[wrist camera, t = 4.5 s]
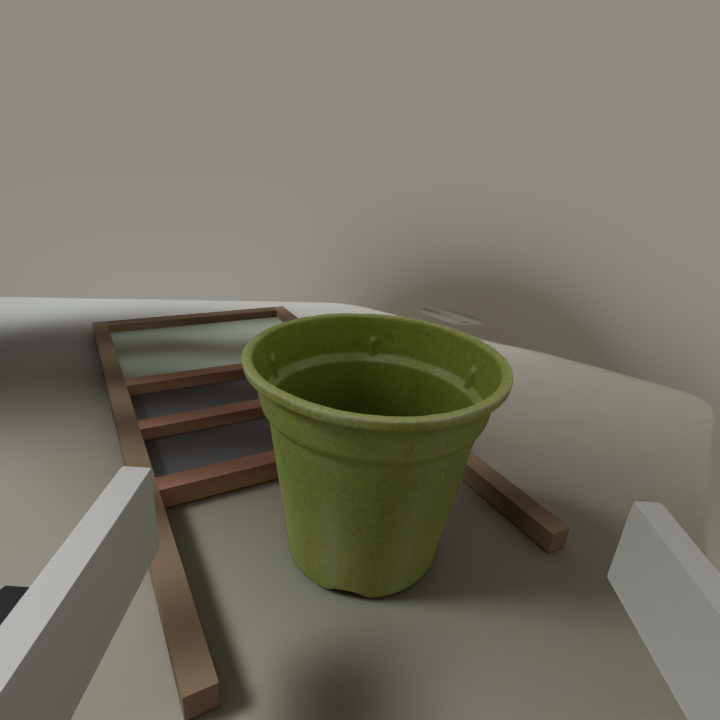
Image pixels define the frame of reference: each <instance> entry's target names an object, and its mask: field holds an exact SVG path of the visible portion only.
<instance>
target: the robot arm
mask: <svg viewBox="0 0 720 720" xmlns="http://www.w3.org/2000/svg"><path fill="white" fill-rule="evenodd" d="M158 549H159V539H158V530H157V520H156V510H155V501H154V491H153V481H152V472H151V468H145V467H130V466H122V467H121V468H120V470H119V471H118V472H117V474H116V475H115V476H114V478H113V479H112V480H111V481H110V483H109V484H108V485H107V487H106V488H105V489H104V491H103V492H102V493H101V495H100V496H99V497H98V498H97V500H96V501H95V502H94V504H93V505H92V506H91V508H90V509H89V510H88V512H87V513H86V514H85V515H84V517H83V518H82V519H81V521H80V522H79V523H78V525H77V526H76V527H75V529H74V530H73V531H72V532H71V534H70V535H69V536H68V538H67V539H66V540H65V542H64V543H63V544H62V546H61V547H60V548H59V549H58V551H57V552H56V553H55V555H54V556H53V557H52V559H51V560H50V561H49V563H48V564H47V565H46V566H45V568H44V569H43V570H42V572H41V573H40V574H39V576H38V577H37V578H36V579H35V581H34V582H33V583H32V585H31V586H30V587H17V586H5V587H3V588H2V589H1V590H0V720H70V719H71V717H72V716H73V714H74V712H75V710H76V708H77V706H78V704H79V702H80V700H81V698H82V696H83V694H84V692H85V690H86V688H87V687H88V685H89V683H90V681H91V679H92V677H93V675H94V673H95V671H96V669H97V667H98V665H99V663H100V661H101V659H102V657H103V656H104V654H105V652H106V650H107V648H108V646H109V644H110V642H111V640H112V638H113V636H114V634H115V632H116V630H117V628H118V627H119V625H120V623H121V621H122V619H123V617H124V615H125V613H126V611H127V609H128V607H129V605H130V603H131V601H132V599H133V597H134V596H135V594H136V592H137V590H138V588H139V586H140V584H141V582H142V580H143V578H144V576H145V574H146V572H147V570H148V568H149V567H150V565H151V563H152V561H153V559H154V557H155V555H156V553H157V551H158ZM607 578H608V580H609V581H610V583H611V585H612V587H613V588H614V590H615V592H616V594H617V596H618V597H619V599H620V601H621V603H622V604H623V606H624V608H625V610H626V612H627V613H628V615H629V617H630V619H631V620H632V622H633V624H634V626H635V628H636V629H637V631H638V633H639V635H640V636H641V638H642V640H643V642H644V643H645V645H646V647H647V649H648V651H649V652H650V654H651V656H652V658H653V659H654V661H655V663H656V665H657V667H658V668H659V670H660V672H661V674H662V675H663V677H664V679H665V681H666V683H667V684H668V686H669V688H670V690H671V691H672V693H673V695H674V697H675V699H676V700H677V702H678V704H679V706H680V707H681V709H682V711H683V713H684V715H685V716H686V718H687V720H720V573H719V571H718V570H717V569H716V568H715V567H714V566H713V564H712V563H711V562H710V561H709V559H708V558H707V557H706V556H705V555H704V553H703V552H702V551H701V550H700V549H699V547H698V546H697V545H696V544H695V543H694V541H693V540H692V539H691V538H690V537H689V535H688V534H687V533H686V532H685V531H684V530H683V528H682V527H681V526H680V525H679V524H678V522H677V521H676V520H675V519H674V518H673V516H672V515H671V514H670V513H669V512H668V510H667V509H666V508H665V507H664V506H663V504H662V503H656V502H642V501H633V504H632V507H631V510H630V513H629V516H628V518H627V521H626V524H625V527H624V530H623V533H622V535H621V538H620V541H619V544H618V547H617V550H616V552H615V555H614V558H613V561H612V564H611V567H610V569H609V572H608V575H607Z"/></svg>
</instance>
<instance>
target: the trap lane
mask: <svg viewBox="0 0 720 720" xmlns="http://www.w3.org/2000/svg"><path fill="white" fill-rule="evenodd" d="M294 319H298V318H297V317H296V316H294V315H293V314H292V313H291V312H289V311H288V310H287V309H285V308H284V307H283V306H280V307H269V308H257V309H246V310H234V311H223V312H211V313H200V314H188V315H176V316H165V317H153V318H142V319H130V320H119V321H107V322H95V323H93V330H94V336H95V340H96V345H97V349H98V353H99V357H100V362H101V366H102V370H103V375H104V379H105V383H106V387H107V392H108V396H109V400H110V404H111V409H112V413H113V417H114V422H115V426H116V430H117V434H118V439H119V443H120V447H121V451H122V456H123V460H124V464H125V466H130V467H145V468H151V472H152V481H153V491H154V501H155V510H156V520H157V530H158V539H159V549H158V551H157V553H156V555H155V557H154V559H153V561H152V563H151V565H150V567H149V571H150V575H151V580H152V584H153V588H154V592H155V597H156V601H157V605H158V609H159V614H160V618H161V622H162V627H163V631H164V635H165V639H166V644H167V648H168V652H169V656H170V661H171V665H172V669H173V674H174V678H175V682H176V686H177V691H178V695H179V699H180V703H181V708H182V712H183V716H184V720H189V719H191V718H193V717H196V716H198V715H200V714H202V713H204V712H206V711H209V710H211V709H213V708H215V707H217V706H219V705H220V694H219V681H218V678H217V675H216V671H215V668H214V665H213V662H212V659H211V655H210V652H209V649H208V646H207V642H206V639H205V636H204V633H203V630H202V626H201V623H200V620H199V617H198V614H197V610H196V607H195V604H194V601H193V598H192V594H191V591H190V588H189V585H188V581H187V578H186V575H185V572H184V569H183V565H182V562H181V559H180V556H179V553H178V549H177V546H176V543H175V540H174V537H173V533H172V530H171V527H170V524H169V521H168V517H167V514H166V511H165V508H166V507H170V506H174V505H178V504H182V503H186V502H189V501H193V500H197V499H201V498H205V497H209V496H212V495H216V494H220V493H224V492H228V491H232V490H235V489H239V488H243V487H247V486H251V485H255V484H258V483H262V482H266V481H270V480H274V479H278V471H277V465H276V459H275V453H274V447H273V441H272V435H271V428H270V423H269V420H268V419H267V417H266V416H265V414H264V412H263V410H262V407H261V404H260V400H259V396H258V391H257V390H256V389H255V388H254V387H253V386H252V385H251V384H250V382H249V381H248V380H247V378H246V376H245V374H244V371H243V365H242V352H243V350H244V348H245V346H246V345H247V343H248V342H249V341H250V340H251V339H252V338H253V337H254V336H255V335H257V334H259V333H261V332H262V331H264V330H266V329H268V328H269V327H272V326H274V325H276V324H279V323H283V322H289V321H291V320H294ZM461 479H462V480H463V481H464V482H466V483H467V484H468V485H469V486H470V487H471V488H473V489H474V490H475V491H476V492H477V493H478V494H480V495H481V496H482V497H483V498H484V499H485V500H487V501H488V502H489V503H490V504H491V505H493V506H494V507H495V508H496V509H497V510H498V511H500V512H501V513H502V514H503V515H504V516H505V517H507V518H508V519H509V520H510V521H511V522H512V523H514V524H515V525H516V526H517V527H518V528H519V529H521V530H522V531H523V532H524V533H525V534H526V535H528V536H529V537H530V538H531V539H532V540H533V541H535V542H536V543H537V544H538V545H539V546H540V547H542V548H543V549H544V550H545V551H546V552H547V553H550V552H552V551H554V550H556V549H558V548H561V547H563V546H564V544H565V541H566V537H567V534H568V531H569V527H568V526H566V525H565V524H564V523H563V522H561V521H560V520H559V519H557V518H556V517H555V516H553V515H552V514H551V513H550V512H548V511H547V510H546V509H544V508H543V507H542V506H541V505H539V504H538V503H537V502H535V501H534V500H533V499H531V498H530V497H529V496H528V495H526V494H525V493H524V492H522V491H521V490H520V489H519V488H517V487H516V486H515V485H513V484H512V483H511V482H509V481H508V480H507V479H506V478H504V477H503V476H502V475H500V474H499V473H498V472H496V471H495V470H494V469H493V468H491V467H490V466H489V465H487V464H486V463H485V462H484V461H482V460H481V459H480V458H478V457H477V456H476V455H474V454H473V453H472V452H470V454H469V457H468V460H467V463H466V466H465V469H464V472H463V474H462V477H461Z"/></svg>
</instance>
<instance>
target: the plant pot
mask: <svg viewBox="0 0 720 720" xmlns="http://www.w3.org/2000/svg"><path fill="white" fill-rule="evenodd" d="M242 365H243V371H244V374H245V376H246V378H247V380H248V381H249V382H250V384H251V385H252V386H253V387H254V388H255V389H256V390H257V391H258V396H259V400H260V404H261V407H262V410H263V412H264V414H265V416H266V417H267V419H268V420H269V423H270V428H271V435H272V441H273V447H274V453H275V459H276V465H277V471H278V478H279V484H280V490H281V497H282V504H283V511H284V518H285V524H286V530H287V535H288V541H289V547H290V551H291V554H292V557H293V559H294V561H295V562H296V564H297V566H298V567H299V568H300V570H301V571H302V572H303V573H304V574H305V575H306V576H307V577H309V578H310V579H311V580H312V581H314V582H315V583H317V584H318V585H320V586H322V587H324V588H326V589H341V590H346V591H351V592H354V593H357V594H360V595H362V596H365V597H371V598H372V597H381V596H386V595H391V594H394V593H397V592H399V591H402V590H404V589H406V588H408V587H409V586H411V585H412V584H414V583H415V582H417V581H418V580H419V579H420V578H421V577H422V576H423V575H424V574H425V573H426V571H427V570H428V569H429V567H430V565H431V563H432V560H433V557H434V554H435V551H436V548H437V545H438V542H439V539H440V537H441V534H442V531H443V528H444V525H445V522H446V519H447V516H448V514H449V511H450V508H451V505H452V503H453V500H454V497H455V494H456V491H457V489H458V486H459V483H460V480H461V477H462V474H463V472H464V469H465V466H466V463H467V460H468V457H469V454H470V452H471V449H472V446H473V444H474V441H475V440H476V439H477V438H478V436H479V435H480V434H481V433H482V432H483V430H484V428H485V427H486V424H487V422H488V419H489V417H490V414H491V412H493V411H494V410H495V409H497V408H498V407H499V406H500V405H501V404H502V403H503V402H504V401H505V400H506V398H507V397H508V395H509V393H510V391H511V388H512V384H513V372H512V369H511V367H510V365H509V363H508V362H507V361H506V359H505V358H504V357H503V356H502V355H501V354H500V353H499V352H498V351H496V350H495V349H494V348H492V347H491V346H489V345H488V344H486V343H484V342H483V341H481V340H479V339H477V338H475V337H472V336H470V335H468V334H465V333H462V332H461V331H457V330H454V329H452V328H449V327H445V326H442V325H438V324H434V323H430V322H426V321H423V320H418V319H412V318H406V317H398V316H391V315H382V314H351V313H347V314H345V313H341V314H324V315H317V316H310V317H303V318H299V319H294V320H291V321H289V322H283V323H279V324H276V325H274V326H272V327H269V328H268V329H266V330H264V331H262V332H261V333H259V334H257V335H255V336H254V337H253V338H252V339H251V340H250V341H249V342H248V343H247V345H246V346H245V348H244V350H243V352H242Z"/></svg>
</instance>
